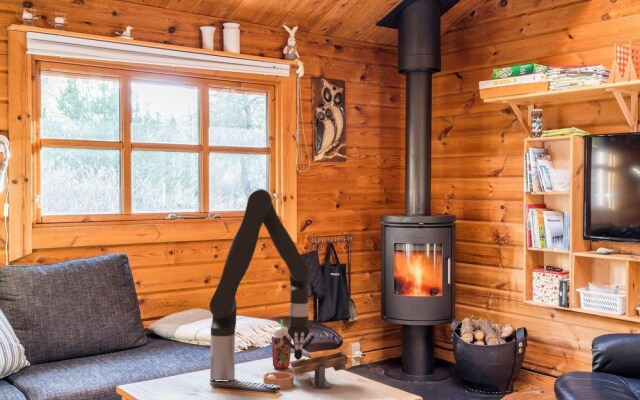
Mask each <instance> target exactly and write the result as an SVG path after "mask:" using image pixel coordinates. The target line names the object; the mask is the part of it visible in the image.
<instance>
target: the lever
mask: <svg viewBox="0 0 640 400" xmlns="http://www.w3.org/2000/svg"><path fill="white" fill-rule="evenodd" d="M348 364H349V361H348V357H347V353H346V352H345V351H344V350H343V349H340V350H339V351H338V352H333V353H329V354H324V355H320V356H315V357H311V358H302V359H301V358H300V360H296V359H295V360H292V361H291V360H290V366H291V369H292V371H293V373H294V375H295V376H298V375H303V374H307V373H311V372H312V373H313V372H315V371H317V370H319V366H325V370H326V369H329V368H330V369H331V368H332V369H333V370H334V371H335V372H337V371H341V370H346V368H347V367H346V365H348Z"/></svg>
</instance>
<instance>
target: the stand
mask: <svg viewBox="0 0 640 400" xmlns="http://www.w3.org/2000/svg"><path fill="white" fill-rule="evenodd" d="M308 380H309V382H310V384H311V386H312V387H313V389H314V390H322V389H323V390H326V389H327V390H328V389H329V390H330V389H331V385H330V383H329V382H328V380H327V378H326V369H325V366H319V370H317V371H314V376H309V377H308Z"/></svg>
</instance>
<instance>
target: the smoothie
mask: <svg viewBox="0 0 640 400" xmlns="http://www.w3.org/2000/svg"><path fill="white" fill-rule="evenodd" d="M288 329H289V327H287V326H283V319H280V325H279V326H277V327H276V328H274V330H273V331H272V333H271V335H270V337H271V352H272V367H274V368H273V369H274V370H276V371H285V370H288V369H289V367H290V366H291V365H290V362H291V350H292V348H290V346H289V345H288V344H287V342H286V341H285V340H284V338H283V337H282V335H283V334H284V335H285V334H286V333H287V332H288ZM289 341H290V342H291V343H292V338H291V337H290V335H289Z"/></svg>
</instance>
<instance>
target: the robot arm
mask: <svg viewBox="0 0 640 400" xmlns="http://www.w3.org/2000/svg"><path fill="white" fill-rule="evenodd" d="M272 199H273V198H272V195H271V194H270V192H268V190H266V189H263V188H256V189H253V190H252V191H251V192H250V193H249V194H248V197H247V199H246V200H247V202H246V206H245V211H244V215H243V218H242V220H241V223H240V226H239V228H238V230H237V231H236V233H235V235H234V237H233V239H232V241H231V244H230V246H229V249H228V253H227V255H226V260H225V262H224V266H223V269H222V274H221V277H220V280H219V281H218V284H217V287H216V289H215V291H214V293H213V295H212V297H211V299H210V301H209V311H210V313H211V314H212V322H211V326H210V358H209V359H210V366H209V367H210V376H209V377H210V378H209V380H210V382H214V381H213V380H231V381H233V380H235V375H236V372H235V371H236V370H235V367H236V365H235V364H236V363H235V361H236V359H235V358H236V356H235V355H236V352H235V350H236V327H237V300H236V295H237V291H238V289H239V287H240V286H239V285H240V284H241V281H242V280H243V278H244V276H245V274H246V273H247V271H248V269H249V266H250V265H251V262H252V260H253V257H254V254H255V251H256V246H257V243H258V240H259V234H260V231H261V227H262V225H264V227H265V228H266V231H267V233H268V235H269V237H270V239H271V241H272V243H273V246H274V248H275V249H276V252H278V254H279V256H280V257H281V260H283V261H284V264H286V266H287V267H286V268H287V269H288V271H289V285H290V293H289V295H290V297H289V309H288V310H289V311H288V314H289V315H288V332H287V333H286V334H285V335H284V334H283V335H282V337H283V338H284V340H285V341H286V342H287V344H288V345H289V346H290V348H291V349H293V351H294V355H293V356H294V358H295V361H296V360H301V358H302V359H303V350H304V349H307V348H308V347H309V346H310V344H311V343H312V341H313V340H314V339H315V338H316V336H315V335H314V334H313V333H311V332H310V328H309V317H310V316H309V314H310V313H309V312H310V309H309V308H310V307H309V290H308V279H309V277H310V274H311V271H310V268H309V266H308V264H307V262H305V259H304V258H303V257H302V255H301V254H300V252H299V249H298V248H297V246H296V244H295V242H294V241H293V239H292V237H291V235H290V234H289V233H288V230H287V229H286V228H285V226H284V224H283V223H282V221H281V220H280V218H279V216H278V213H277V212H276V209H275V206H274V204H273V200H272ZM289 335H290V337H291V340H292V341H293V343H292V341H291V342H290V341H289ZM306 338H307V339H306Z"/></svg>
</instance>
